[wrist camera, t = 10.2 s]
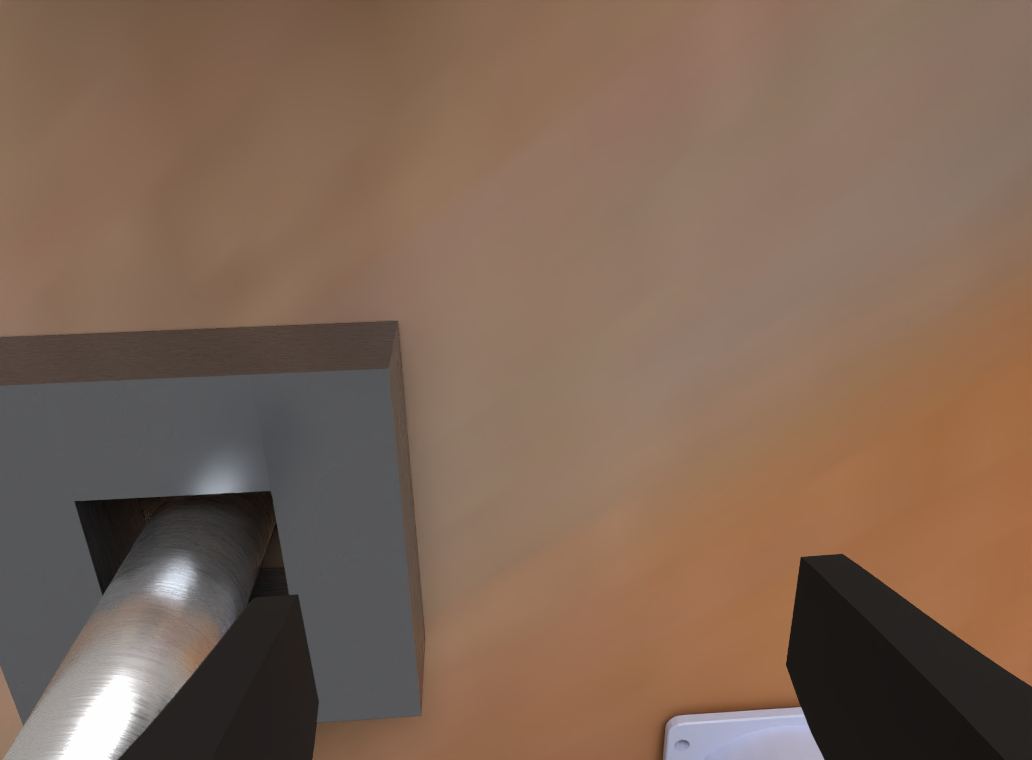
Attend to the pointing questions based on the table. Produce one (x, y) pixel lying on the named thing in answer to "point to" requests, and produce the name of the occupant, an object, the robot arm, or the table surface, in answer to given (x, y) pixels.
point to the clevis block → (216, 487)
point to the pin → (151, 626)
